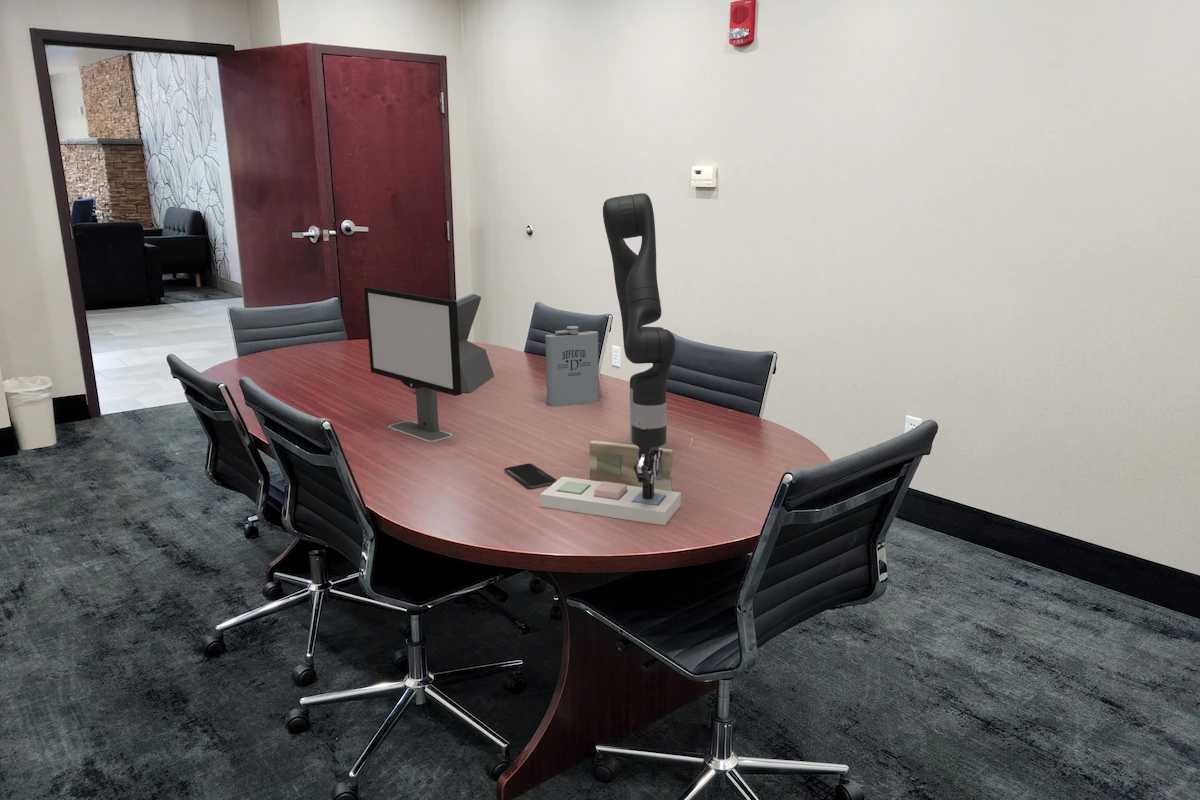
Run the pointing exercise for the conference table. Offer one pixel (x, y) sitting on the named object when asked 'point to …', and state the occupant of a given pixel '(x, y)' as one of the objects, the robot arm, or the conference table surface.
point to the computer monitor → (415, 351)
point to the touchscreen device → (471, 347)
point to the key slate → (654, 501)
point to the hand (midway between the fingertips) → (648, 497)
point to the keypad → (611, 503)
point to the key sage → (573, 487)
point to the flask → (572, 367)
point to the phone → (530, 476)
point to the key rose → (610, 490)
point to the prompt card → (625, 465)
